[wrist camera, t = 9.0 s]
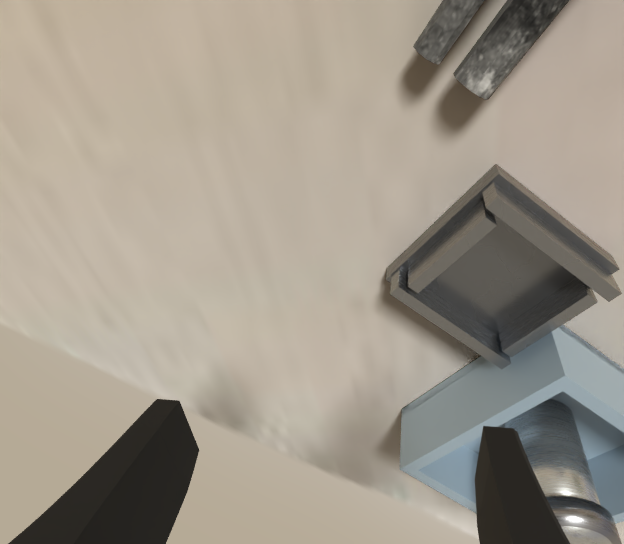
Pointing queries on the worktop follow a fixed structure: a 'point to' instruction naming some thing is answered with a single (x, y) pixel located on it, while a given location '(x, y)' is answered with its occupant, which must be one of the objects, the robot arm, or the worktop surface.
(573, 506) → the metal capped cylinder
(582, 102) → the worktop surface
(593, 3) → the worktop surface
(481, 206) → the plate
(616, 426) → the bin
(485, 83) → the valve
